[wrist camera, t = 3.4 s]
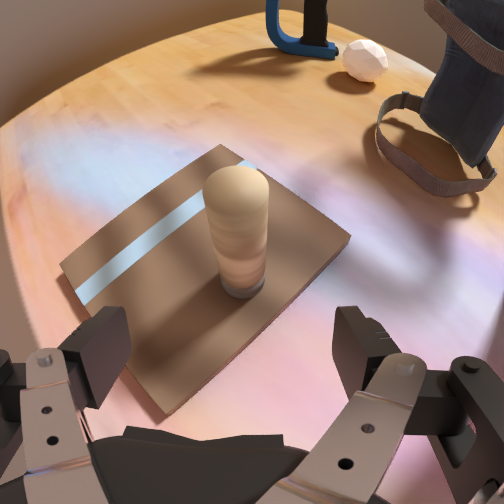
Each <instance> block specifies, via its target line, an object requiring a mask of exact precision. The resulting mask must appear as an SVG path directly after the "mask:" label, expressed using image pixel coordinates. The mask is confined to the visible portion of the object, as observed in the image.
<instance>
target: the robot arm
mask: <svg viewBox="0 0 504 504" xmlns="http://www.w3.org/2000/svg"><path fill="white" fill-rule="evenodd" d="M131 351H132V343H131V338H130V333H129V328H128V322H127V317H126V312H125V309H124V308H123V307H122V306H104V307H102V308H101V309H100V310H99V311H98V312H97V313H96V314H95V315H94V316H93V317H92V318H90V319H88V320H86V321H84V322H83V323H81V324H80V325H79V326H78V327H77V330H74V331H73V332H72V333H71V335H69V336H68V337H67V338H66V339H65V340H64V341H63V342H62V343H61V345H60V346H59V347H58V348H57V349H56V348H44V349H40V350H38V351H35V352H33V353H32V354H31V355H29V357H28V358H27V360H26V363H12V362H11V359H10V356H9V353H8V352H7V351H5V350H1V349H0V478H1V477H2V475H3V473H4V471H5V470H6V468H7V466H8V465H9V463H10V461H11V460H12V458H13V456H14V455H15V453H16V451H17V450H18V448H19V446H20V445H21V443H22V441H23V442H24V451H25V458H26V465H27V472H26V473H25V474H24V475H23V476H20V477H18V478H16V479H14V480H11V481H9V482H7V483H4V484H2V485H0V504H391V503H389V502H388V501H386V500H384V499H383V498H381V497H380V496H378V495H376V492H377V490H378V488H379V486H380V484H381V483H382V481H383V479H384V477H385V475H386V473H387V471H388V469H389V467H390V465H391V463H392V460H393V458H394V456H395V454H396V452H397V450H398V448H399V445H400V443H401V441H402V439H403V436H404V435H427V437H428V439H429V441H430V443H431V446H432V448H433V450H434V452H435V454H436V457H437V459H438V461H439V463H440V465H441V468H442V470H443V472H444V475H445V477H446V479H447V482H448V484H449V486H450V489H451V491H452V493H453V496H454V498H455V501H456V503H457V504H504V382H503V381H502V380H501V379H500V378H499V377H498V376H497V374H496V373H495V372H494V371H493V370H492V369H491V368H490V367H489V365H488V364H487V363H485V362H484V361H482V360H481V359H478V358H475V357H471V356H461V357H458V358H456V359H454V360H453V361H452V363H451V366H450V369H449V371H440V370H427V366H426V363H425V362H424V361H423V360H422V359H421V358H419V357H417V356H415V355H412V354H407V353H402V352H401V350H400V349H399V348H398V346H397V345H396V344H395V342H394V341H393V340H392V338H390V336H389V334H388V333H387V332H386V330H385V329H384V328H383V326H382V325H381V324H380V323H379V322H377V321H376V320H374V319H372V318H365V316H364V315H363V313H362V312H361V311H360V309H359V308H358V306H342V307H337V308H336V312H335V322H334V332H333V341H332V355H333V360H334V363H335V365H336V368H337V370H338V373H339V376H340V378H341V381H342V383H343V386H344V389H345V391H346V394H347V397H348V399H349V402H348V403H347V405H346V406H345V407H344V409H343V410H342V412H341V413H340V414H339V416H338V417H337V418H336V420H335V421H334V422H333V424H332V425H331V426H330V428H329V429H328V430H327V432H326V433H325V434H324V435H323V437H322V438H321V439H320V440H319V442H318V443H317V444H316V445H315V447H314V448H313V449H312V450H311V452H309V451H306V450H303V449H299V448H295V447H291V446H285V445H284V442H283V434H280V435H240V436H234V437H228V438H221V439H214V440H206V441H198V440H193V439H190V438H186V437H183V436H179V435H176V434H172V433H169V432H166V431H163V430H155V429H147V428H140V427H133V426H126V429H125V431H124V433H123V435H122V436H113V437H107V438H102V439H99V440H96V441H94V438H93V435H92V433H91V430H90V427H89V424H88V421H87V419H86V416H85V413H84V411H83V410H84V409H85V407H88V408H93V409H99V408H100V406H101V405H102V403H103V401H104V399H105V398H106V396H107V394H108V393H109V391H110V389H111V388H112V386H113V384H114V383H115V381H116V379H117V378H118V376H119V374H120V373H121V371H122V369H123V368H124V366H125V364H126V363H127V361H128V360H129V358H130V356H131ZM470 420H472V422H473V423H474V425H475V427H476V435H475V434H474V432H473V430H472V429H471V427H470V425H469V422H470Z"/></svg>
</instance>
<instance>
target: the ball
mask: <svg viewBox="0 0 504 504" xmlns="http://www.w3.org/2000/svg"><path fill="white" fill-rule="evenodd" d="M343 66H344V67H345V69H346V70H347V72H348V73H349V75H351V76H352V77H354V78H356V79H357V80H359V81H363V82H374V81H375V80H377V79H379V78H380V77H382V75H383V74H384V73H385V71H386V70H387V69H388V66H387V57H386V55H385V53H384V51H383V49H382V47H381V46H379V45H377V44H376V43H374V42H373V41H371V40H356V41H354V42H352V43H350V44H348V46H347V48H346V49H345V51H344V53H343Z"/></svg>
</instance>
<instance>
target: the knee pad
mask: <svg viewBox="0 0 504 504" xmlns="http://www.w3.org/2000/svg"><path fill="white" fill-rule="evenodd" d="M424 10H425V11H426V12H427V13H428V15H429V16H430V17H431V18H432V19H433V20H434V21H436V22H437V23H438V24H439V25H440V26H441V28H442V29H443V30H444V31H445V32H446V33H447V43H446V50H445V56H444V59H443V62H442V65H441V67H440V69H439V71H438V73H437V74H436V76H435V78H434V80H433V81H432V83H431V85H430V87H429V88H428V90H427V92H426V94H425V96H424V97H421V96H417V95H412V94H410V93H409V92H407V91H402V94H396V95H393V96H391V97H389V98H388V99H386V100H385V101H384V102H383V104H382V106H381V108H380V111H379V115H378V122H377V132H376V142H377V144H378V147H379V149H380V150H381V152H382V153H383V154H384V155H385V156H386V158H387V159H389V160H390V161H391V162H392V163H393V164H394V165H396V166H397V167H398V168H400V169H401V170H402V171H403V172H405V173H406V174H407V175H408V176H409V177H410V178H412V179H413V180H414V181H415V182H416V183H417V184H418V185H420V186H421V187H422V188H423V189H424V190H426V191H428V192H429V193H431V194H433V195H435V196H441V197H453V196H458V195H462V194H466V193H471V192H479V191H482V190H484V188H485V187H487V186H488V185H489V184H490V182H491V181H492V180H493V179H494V178H495V176H496V175H497V170H496V169H495V168H492V166H491V163H490V161H489V159H488V156H487V152H488V151H489V149H490V148H491V146H492V144H493V142H494V141H495V139H496V137H497V135H498V134H499V132H500V130H501V128H502V127H503V125H504V0H424ZM404 108H407V109H409V110H412V111H414V112H417V113H418V114H420V118H421V119H422V120H423V121H424V122H425V123H426V125H427V126H428V127H429V128H430V129H432V130H433V131H434V132H436V133H437V134H438V135H439V136H441V137H442V138H443V139H445V140H446V141H448V142H449V143H450V144H451V145H452V146H453V147H454V148H455V150H456V151H457V152H458V154H459V155H460V157H461V158H462V159H463V161H464V162H465V163H466V164H467V165H469V166H470V167H471V168H474V167H475V166H476V165H477V168H478V171H480V173H481V175H482V178H483V179H470V180H464V181H455V182H449V181H445V180H441V179H439V178H437V177H436V176H434V175H432V174H431V173H430V172H428V171H427V170H426V169H425V168H424V167H422V166H421V165H420V164H419V163H417V162H416V161H415V160H413V159H412V158H411V157H409V156H408V155H406V154H405V153H403V152H402V151H400V150H399V149H397V148H396V147H395V146H394V145H392V144H391V143H390V142H389V141H388V140H387V139H386V138H385V137H384V136H383V135H382V133H381V131H380V128H379V125H380V122H381V120H382V118H383V116H384V115H385V114H386V113H387V112H389V111H391V110H393V109H404Z"/></svg>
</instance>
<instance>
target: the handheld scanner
mask: <svg viewBox="0 0 504 504" xmlns="http://www.w3.org/2000/svg"><path fill="white" fill-rule="evenodd" d="M326 4H327V0H304V24H303V36H302V37H301V38H293V37H290V36H288V35H286V34H285V33H284V32H283V31H282V30H281V28H280V25H279V0H266V29H267V33H268V36H269V38H270V40H271V41H272V42H273V44H274V45H275V46H277V47H278V48H279V49H281V50H282V51H284V52H287V53H289V54H293V55H303V56H311V57H319V58H326V59H334V58H335V56H338V54H339V50H338V48H337V47H335V44H334V43H332V42H328V41H327V40H326V36H327V25H328V15H327V10H326Z"/></svg>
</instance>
